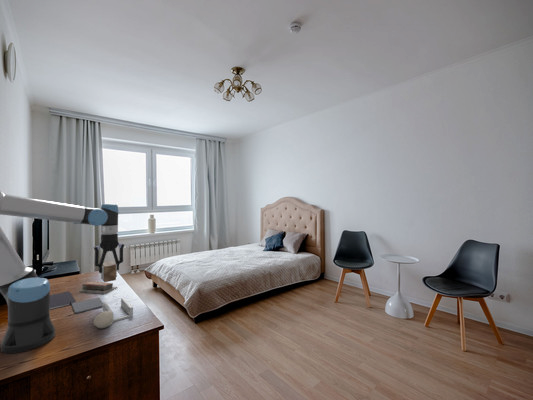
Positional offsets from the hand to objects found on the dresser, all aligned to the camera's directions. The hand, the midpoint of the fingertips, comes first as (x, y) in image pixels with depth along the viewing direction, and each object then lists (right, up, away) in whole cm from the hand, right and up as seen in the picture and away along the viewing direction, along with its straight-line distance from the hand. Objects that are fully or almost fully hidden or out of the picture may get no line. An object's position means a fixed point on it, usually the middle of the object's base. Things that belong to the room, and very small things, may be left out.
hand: (108, 277), depth 128 cm
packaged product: (-20, -15, +22) cm, 34 cm away
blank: (-1, -1, +1) cm, 2 cm away
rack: (+10, -15, -8) cm, 19 cm away
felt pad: (-11, -14, 0) cm, 18 cm away
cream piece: (+12, -15, -22) cm, 29 cm away
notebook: (-31, -15, +5) cm, 35 cm away
